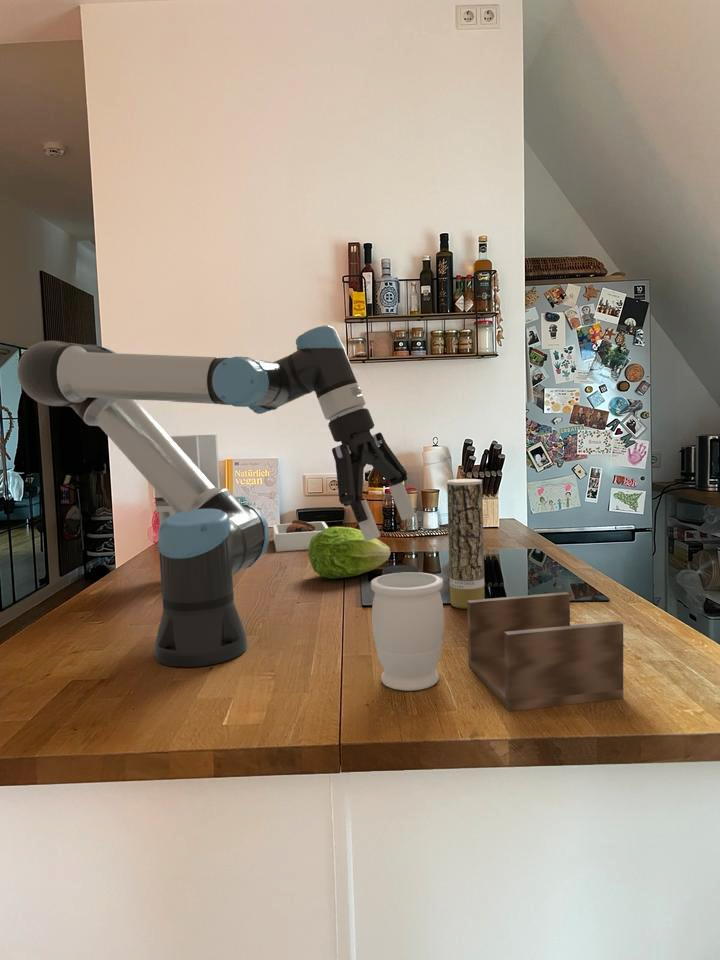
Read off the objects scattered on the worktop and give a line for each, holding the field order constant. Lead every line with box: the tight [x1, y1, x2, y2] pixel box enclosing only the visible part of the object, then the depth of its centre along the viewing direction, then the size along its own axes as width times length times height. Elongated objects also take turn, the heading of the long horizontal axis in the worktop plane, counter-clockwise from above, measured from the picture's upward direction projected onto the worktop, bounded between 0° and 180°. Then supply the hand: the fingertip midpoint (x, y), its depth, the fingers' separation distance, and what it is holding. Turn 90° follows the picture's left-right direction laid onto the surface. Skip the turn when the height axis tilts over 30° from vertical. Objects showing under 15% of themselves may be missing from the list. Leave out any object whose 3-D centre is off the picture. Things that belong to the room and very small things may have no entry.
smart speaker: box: [381, 564, 422, 576], centre depth 154 cm, size 9×9×4 cm
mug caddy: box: [272, 520, 329, 553], centre depth 207 cm, size 16×18×5 cm
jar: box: [370, 572, 445, 692], centre depth 99 cm, size 11×10×15 cm
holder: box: [466, 591, 624, 712], centre depth 98 cm, size 16×16×10 cm
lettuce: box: [307, 526, 391, 580], centre depth 166 cm, size 13×22×14 cm
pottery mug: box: [286, 519, 315, 533], centre depth 207 cm, size 12×10×8 cm
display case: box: [154, 434, 221, 588], centre depth 163 cm, size 11×11×35 cm
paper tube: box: [446, 478, 486, 610], centre depth 135 cm, size 7×7×25 cm
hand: (391, 528), depth 119 cm, fingers open, 13 cm apart
